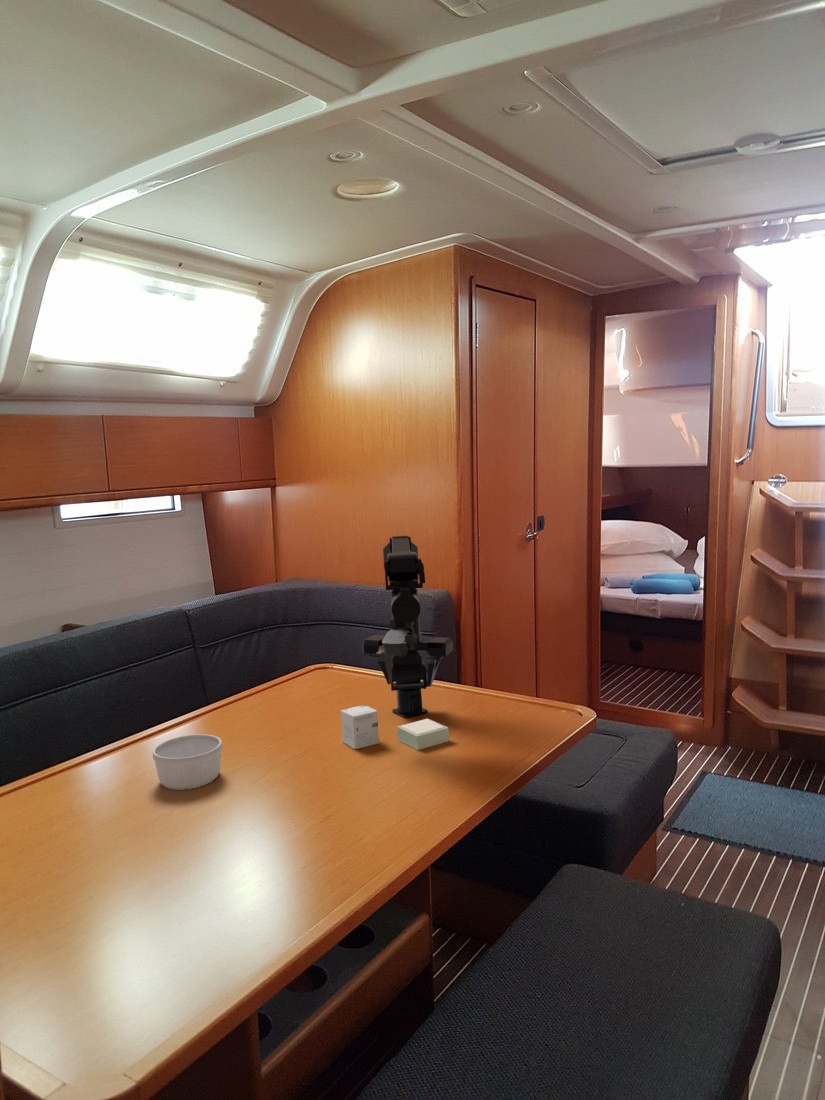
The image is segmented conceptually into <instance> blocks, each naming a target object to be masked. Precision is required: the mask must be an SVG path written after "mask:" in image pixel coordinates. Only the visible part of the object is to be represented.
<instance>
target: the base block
mask: <svg viewBox="0 0 825 1100" xmlns="http://www.w3.org/2000/svg"><path fill="white" fill-rule="evenodd" d="M396 730H397V740H398V741H399V742H401V743H403V744H405V745H407V746H408V747H411V748H413V749H414V750H416V751H420V750H424V749H427V748H430V747H431V748H432V747H433V746H437V745H441V744H444V743H448V742H450V737H449V735H450V734H449V727H448V726H446V725H444V724H441V723H439V722H437V721H434V720H432V719H430V718H424V719H421V720H417V721H412V722H409V723H406V724H402V725H398V726H396Z"/></svg>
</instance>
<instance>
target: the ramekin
mask: <svg viewBox="0 0 825 1100" xmlns="http://www.w3.org/2000/svg"><path fill="white" fill-rule="evenodd" d="M222 742H223V741H222V740H221V738H220V737H218V736H216V735H212V734H205V733H204V734H201V733H199V734H198V733H196V734H188V735H187V734H186V735H181V736H176V737H172V738H170V739H167V740H164V741H162V742H161V743H158V744H157V745H156V746H155V747H154V748H153V750H152V758H153V759H152V760H153V761H154V764H155V769H156V772H157V776H158V777H157V778H158V781H159V783H160V784H161V785H162V786H164V788H167V789H169V790H173V791H174V790H175V791H183V790H184V791H186V790H185V789H187V790H192V788H193V789H197V787H198V788H200V786H201V787H204V786H207V785H209V784H210V782H211V783H213V782H214V781H213V780H214V779H215V778H216V779H217V777H218V776H219V774H220V771H221V767H222V766H221V765H222V763H221V761H222V750H223V743H222ZM216 779H215V780H216ZM208 783H209V784H208ZM206 784H207V785H206ZM203 785H204V786H203Z"/></svg>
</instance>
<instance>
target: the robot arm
mask: <svg viewBox="0 0 825 1100" xmlns="http://www.w3.org/2000/svg"><path fill="white" fill-rule="evenodd" d="M382 552H383V555H382V556H383V557H382V558H383V569H384V576H385V577H384V578H385V579H384V580H385V591H390V602H391V603H390V604H391V605H390V606H391V619H390V621H389V622H390V623H389V629H388V631H387V632H386V634H385V635H384V634H383V635H381V634H378V635H377V634H374V635H371V636H370V637H367V638H365V639H364V640H363V641H362V644H361V647H362V648H361V649H362V654H364V655H365V654H367V655H368V657H369V658H372V659H373V660H375V661H376V662H377V663H378V666H379V667H380V669H381V671H382V674H383V676H384V679H385V680H386V683H387V685H390V689H391V692H395V691H396V702H397V705H396V706H397V708H393V709H392V711H391V712H392V713H394V714H395V715H396V714H397V715H398V716H401V717H403V718H411V717H414V716H419V715H422V714H426V713H428V711H429V710H428V709H426V708H424V707H423V695H422V689H424V690H427V688H428V687H429V688H430V687H432V685H433V683H434V679H435V678H436V677H435V676H436V673H437V670H438V667H439V665H440V662H441V660H442V659H443V658H445V657H447V656H449V654H450V653H452V652H453V651H454V642H453V640H452V639H451V637H445V636H444V637H441V636H440V637H439V636H434V637H433V638H431V639H430V640H429V641H425V640H423V641H422V639H423V634H422V633H421V623H420V621H422V614H420V613H421V609H422V608H421V604H420V600H419V590H418V589H423V588H424V585H423V584H426V573H425V565H424V563H423V561H422V560H423V559H421V557H419V549H418V546H417V545H416V544H415V543H414V542H412V539H411V536H408V535H396V536H395V535H394V536H391V537H389V542H388V543H387V545H385V546H384V548H383V549H382ZM418 651H425V652H426V653H427V654H428V656H427V657H425V660H426V662H427V666H426V663H423V661H422V660H423V658H422V656H421V654H420V653H419V652H418ZM392 656H393V657H392Z"/></svg>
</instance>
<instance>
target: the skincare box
mask: <svg viewBox="0 0 825 1100" xmlns="http://www.w3.org/2000/svg"><path fill="white" fill-rule="evenodd" d="M340 717H341V718H340V719H341V735H342V743H344V744H345V745H347V746H348V747H350V748H352V749H354V750H358V749H362V748H366V747H369V746H374V745H378V744H379V742H380V738H379V720H378V718H379V717H378V710H377V709H374V708H372V707H370V706H368V705H366V704H363V705H358V706H353V707H349V708H347V709H346V708H345V709H342V710H341V709H340Z"/></svg>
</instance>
